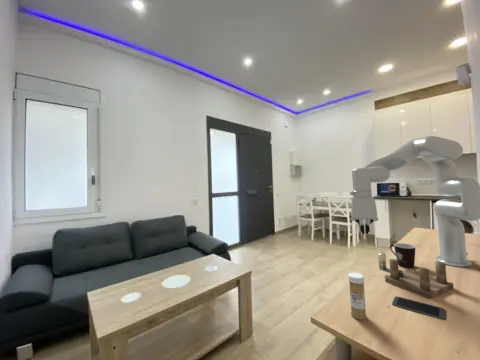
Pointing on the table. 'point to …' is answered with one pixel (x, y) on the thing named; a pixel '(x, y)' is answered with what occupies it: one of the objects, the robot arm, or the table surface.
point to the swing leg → (383, 264)
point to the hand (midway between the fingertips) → (365, 233)
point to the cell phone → (420, 307)
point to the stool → (420, 280)
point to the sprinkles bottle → (357, 295)
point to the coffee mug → (404, 254)
